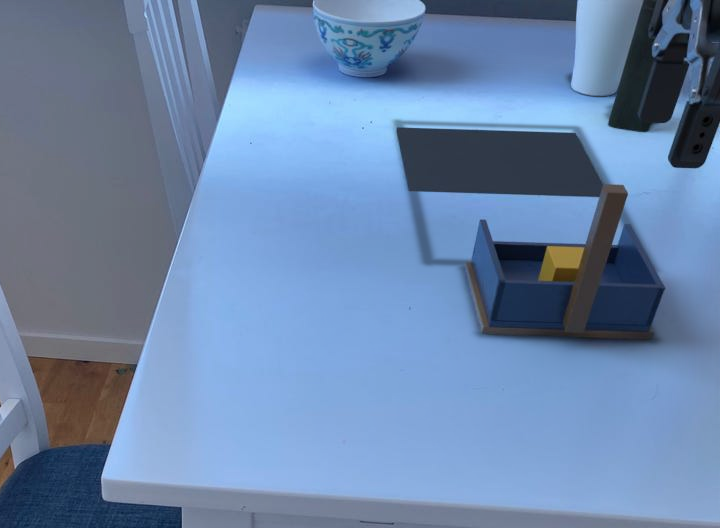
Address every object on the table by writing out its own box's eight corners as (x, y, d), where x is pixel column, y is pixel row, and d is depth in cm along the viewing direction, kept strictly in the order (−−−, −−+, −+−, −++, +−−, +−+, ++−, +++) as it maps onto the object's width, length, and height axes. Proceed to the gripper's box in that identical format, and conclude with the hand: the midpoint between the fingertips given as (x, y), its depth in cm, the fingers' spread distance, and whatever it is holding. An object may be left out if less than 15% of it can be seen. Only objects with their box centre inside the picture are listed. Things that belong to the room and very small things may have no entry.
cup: (646, 101, 124) (684, -20, 114) (571, 104, 123) (603, -19, 113) (613, 74, 131) (646, -43, 121) (542, 76, 130) (569, -42, 120)
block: (579, 289, 86) (592, 247, 83) (588, 312, 83) (602, 268, 80) (535, 288, 86) (547, 245, 83) (543, 310, 83) (555, 267, 80)
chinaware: (356, 44, 138) (362, -18, 132) (438, 70, 131) (448, 6, 125) (286, 67, 131) (289, 2, 125) (369, 96, 124) (377, 29, 118)
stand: (616, 282, 91) (621, 266, 90) (648, 348, 83) (654, 332, 82) (462, 277, 91) (465, 261, 90) (479, 343, 83) (483, 326, 82)
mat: (574, 136, 116) (575, 132, 116) (650, 278, 92) (651, 274, 92) (396, 130, 116) (396, 127, 116) (425, 271, 92) (426, 267, 92)
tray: (616, 266, 90) (662, 127, 81) (653, 341, 81) (709, 195, 72) (470, 261, 90) (499, 122, 81) (491, 336, 81) (526, 190, 72)
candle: (648, 132, 117) (729, -123, 98) (606, 126, 118) (679, -127, 100) (652, 118, 120) (731, -131, 102) (611, 112, 121) (682, -135, 103)
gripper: (903, -153, 46) (758, 190, 58) (798, -197, 56) (692, 105, 68) (750, -158, 46) (638, 185, 58) (671, -201, 56) (589, 102, 68)
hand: (667, 142), depth 63 cm, fingers open, 7 cm apart
